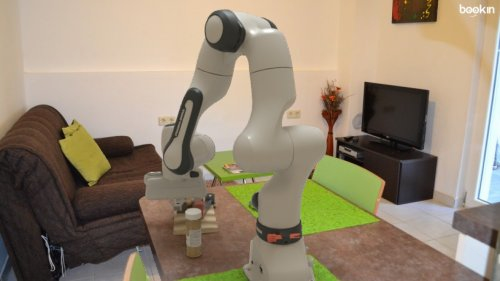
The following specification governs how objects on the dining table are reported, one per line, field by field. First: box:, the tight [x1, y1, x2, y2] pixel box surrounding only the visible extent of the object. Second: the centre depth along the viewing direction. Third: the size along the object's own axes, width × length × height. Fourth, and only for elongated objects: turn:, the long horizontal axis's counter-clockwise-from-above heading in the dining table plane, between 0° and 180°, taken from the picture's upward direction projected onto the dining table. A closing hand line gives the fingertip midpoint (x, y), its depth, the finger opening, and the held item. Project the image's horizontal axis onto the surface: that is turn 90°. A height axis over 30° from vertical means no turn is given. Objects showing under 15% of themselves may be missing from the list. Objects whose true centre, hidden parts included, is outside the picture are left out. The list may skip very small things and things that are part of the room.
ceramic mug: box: [248, 190, 260, 212], centre depth 149 cm, size 11×8×8 cm
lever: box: [192, 192, 216, 219], centre depth 142 cm, size 16×6×5 cm, turn 170°
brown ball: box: [185, 198, 193, 208], centre depth 142 cm, size 4×4×4 cm
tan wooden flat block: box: [173, 198, 219, 236], centre depth 138 cm, size 23×15×6 cm, turn 10°
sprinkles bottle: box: [185, 208, 203, 258], centre depth 113 cm, size 5×5×13 cm
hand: (177, 210), depth 134 cm, fingers closed
